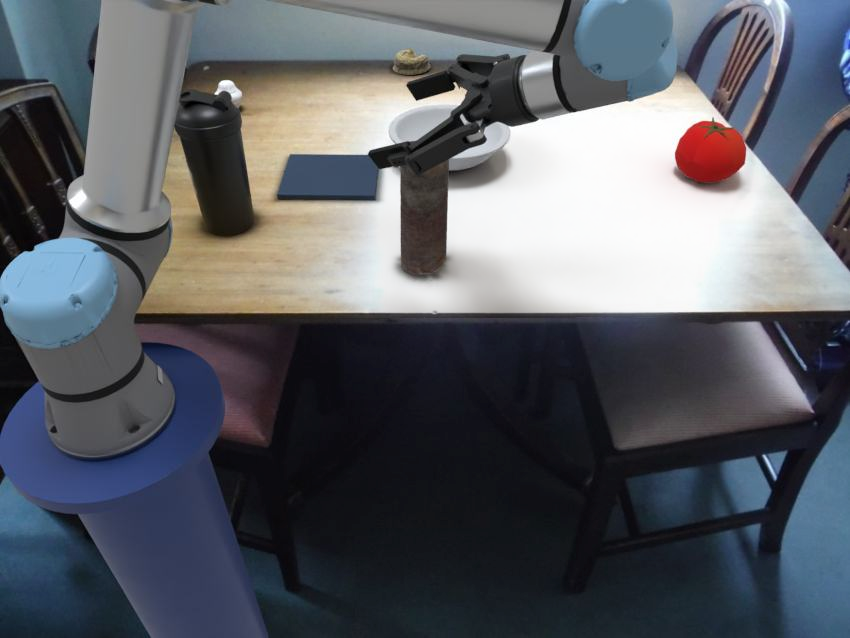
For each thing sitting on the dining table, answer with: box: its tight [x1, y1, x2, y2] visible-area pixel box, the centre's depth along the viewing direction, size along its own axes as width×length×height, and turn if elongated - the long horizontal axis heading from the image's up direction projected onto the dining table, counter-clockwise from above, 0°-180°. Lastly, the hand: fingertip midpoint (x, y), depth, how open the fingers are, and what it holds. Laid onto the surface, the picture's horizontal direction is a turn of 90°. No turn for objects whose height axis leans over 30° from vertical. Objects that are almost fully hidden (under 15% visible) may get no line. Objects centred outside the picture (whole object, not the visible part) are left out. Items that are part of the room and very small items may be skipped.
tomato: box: [674, 116, 747, 184], centre depth 127 cm, size 13×12×11 cm
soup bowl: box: [388, 104, 511, 172], centre depth 132 cm, size 24×24×7 cm
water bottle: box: [174, 88, 256, 237], centre depth 108 cm, size 10×10×23 cm
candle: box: [399, 141, 450, 276], centre depth 100 cm, size 8×7×20 cm
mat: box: [276, 153, 379, 201], centre depth 127 cm, size 18×16×1 cm
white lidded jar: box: [214, 79, 243, 110], centre depth 149 cm, size 6×6×7 cm
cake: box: [392, 47, 431, 76], centre depth 170 cm, size 10×10×5 cm
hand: (393, 124), depth 89 cm, fingers open, 13 cm apart
